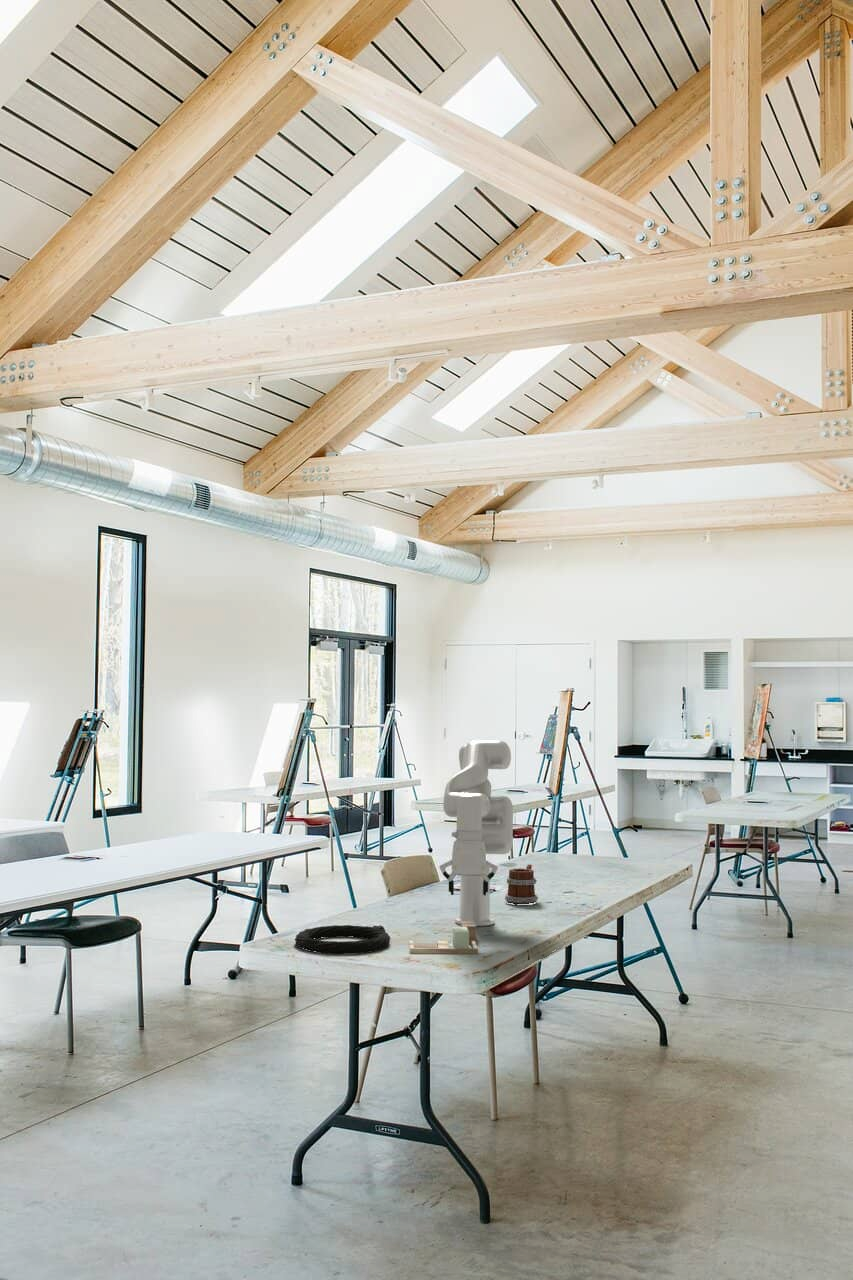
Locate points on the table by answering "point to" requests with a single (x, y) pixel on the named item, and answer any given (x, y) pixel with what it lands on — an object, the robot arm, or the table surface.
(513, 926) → the table surface
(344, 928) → the cable lock
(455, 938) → the sage bar
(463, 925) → the walnut bar
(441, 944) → the oak rack
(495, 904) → the table surface
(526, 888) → the mug
